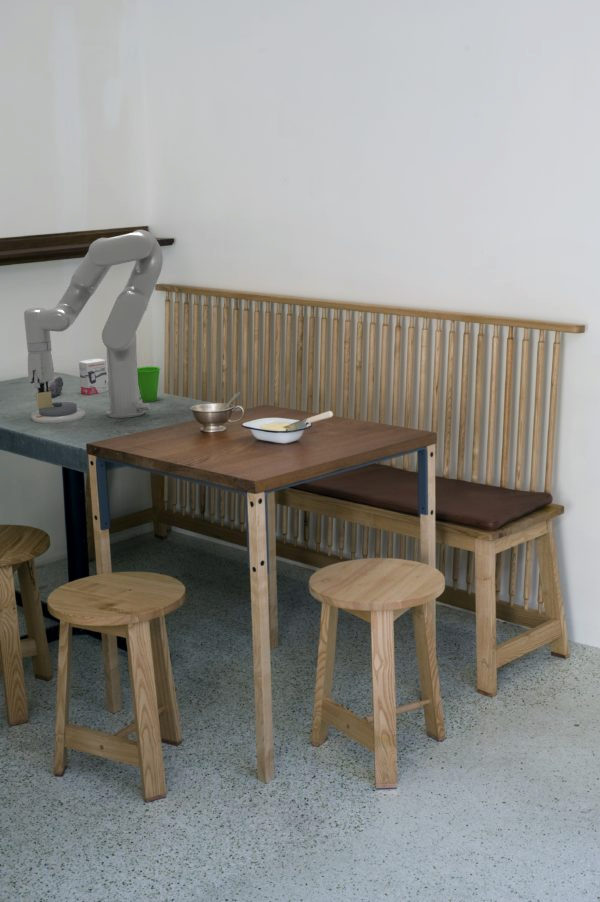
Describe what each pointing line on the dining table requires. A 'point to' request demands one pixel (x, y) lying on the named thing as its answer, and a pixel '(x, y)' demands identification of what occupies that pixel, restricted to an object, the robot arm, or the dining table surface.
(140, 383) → the cup
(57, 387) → the pumice stone
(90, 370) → the ink box
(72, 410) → the dial
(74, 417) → the plate
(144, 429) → the dining table surface
